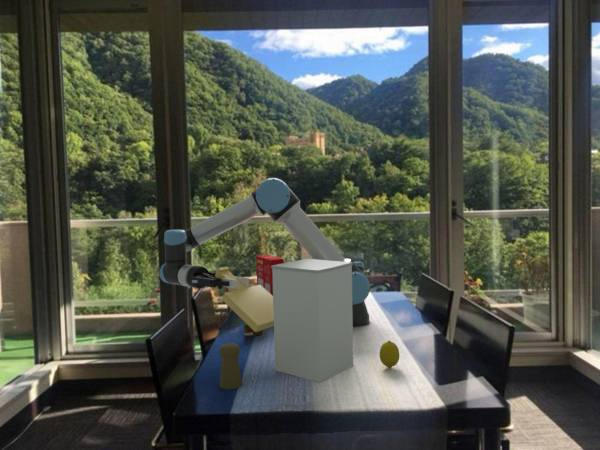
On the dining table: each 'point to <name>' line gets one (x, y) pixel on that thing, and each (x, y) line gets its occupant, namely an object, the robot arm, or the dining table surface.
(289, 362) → the tall white upright box
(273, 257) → the food packaging
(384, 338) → the dining table surface
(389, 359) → the lemon
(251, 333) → the food container
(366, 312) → the robot arm
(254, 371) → the dining table surface
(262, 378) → the dining table surface
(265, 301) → the paddle
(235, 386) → the cork
